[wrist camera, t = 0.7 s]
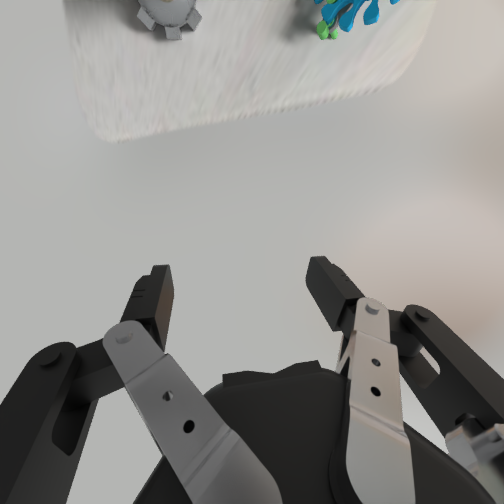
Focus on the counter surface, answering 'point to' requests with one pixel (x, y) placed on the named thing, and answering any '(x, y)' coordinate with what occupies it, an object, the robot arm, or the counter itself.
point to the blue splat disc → (345, 15)
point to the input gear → (169, 15)
